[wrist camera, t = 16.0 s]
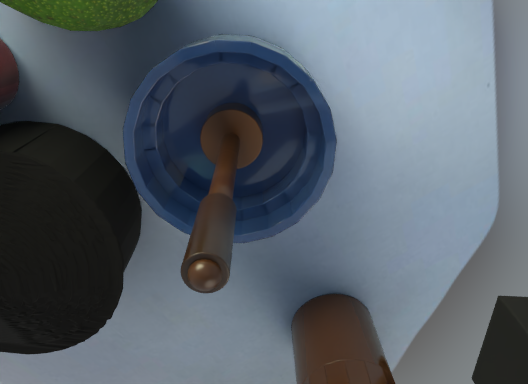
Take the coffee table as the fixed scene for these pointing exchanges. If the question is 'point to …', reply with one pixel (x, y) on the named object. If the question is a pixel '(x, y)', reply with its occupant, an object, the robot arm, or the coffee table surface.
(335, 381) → the crock
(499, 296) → the robot arm
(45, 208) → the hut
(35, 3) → the fruit
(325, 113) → the bowl
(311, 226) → the coffee table surface
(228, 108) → the wooden pestle
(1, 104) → the soda can
